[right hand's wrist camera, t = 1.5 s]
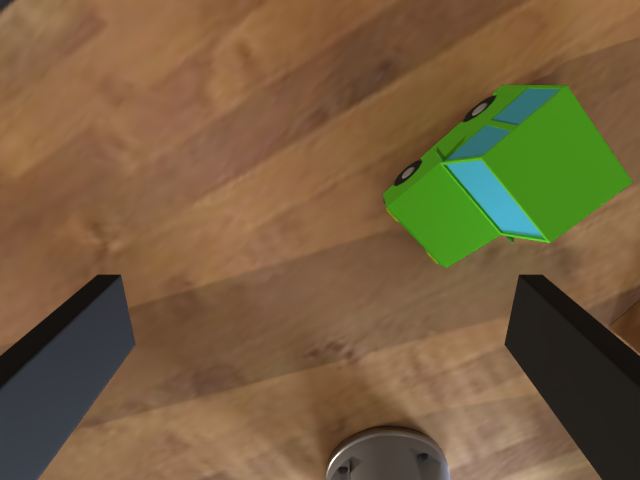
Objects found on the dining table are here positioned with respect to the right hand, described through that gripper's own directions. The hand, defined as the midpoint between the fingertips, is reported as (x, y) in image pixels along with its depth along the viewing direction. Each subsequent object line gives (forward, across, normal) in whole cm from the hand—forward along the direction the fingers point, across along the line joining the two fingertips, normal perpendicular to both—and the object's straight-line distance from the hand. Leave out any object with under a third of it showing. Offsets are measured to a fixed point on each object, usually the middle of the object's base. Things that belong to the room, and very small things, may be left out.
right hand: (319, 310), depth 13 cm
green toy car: (+24, -13, 0) cm, 27 cm away
